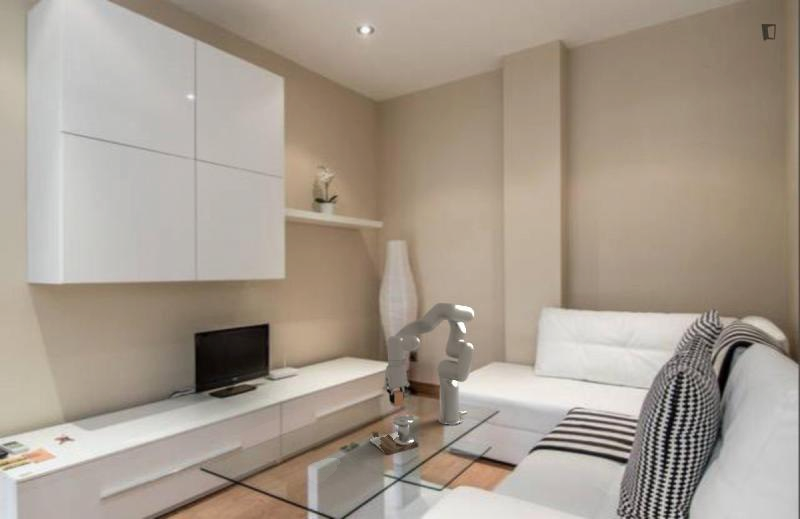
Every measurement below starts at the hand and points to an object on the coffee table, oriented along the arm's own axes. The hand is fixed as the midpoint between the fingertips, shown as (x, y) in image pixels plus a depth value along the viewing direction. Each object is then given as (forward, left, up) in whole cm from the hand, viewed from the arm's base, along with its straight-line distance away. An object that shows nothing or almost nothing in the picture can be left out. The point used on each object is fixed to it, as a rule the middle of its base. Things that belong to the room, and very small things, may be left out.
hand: (396, 401), depth 211 cm
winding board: (+4, +3, -18) cm, 19 cm away
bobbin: (+1, +7, -16) cm, 18 cm away
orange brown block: (0, 0, -2) cm, 2 cm away
